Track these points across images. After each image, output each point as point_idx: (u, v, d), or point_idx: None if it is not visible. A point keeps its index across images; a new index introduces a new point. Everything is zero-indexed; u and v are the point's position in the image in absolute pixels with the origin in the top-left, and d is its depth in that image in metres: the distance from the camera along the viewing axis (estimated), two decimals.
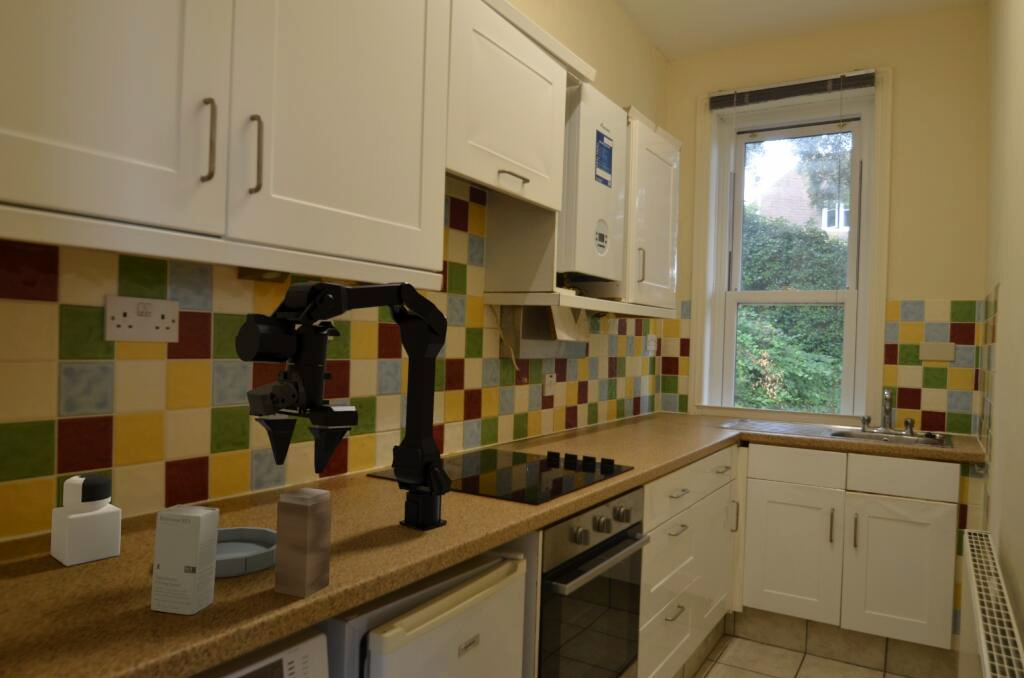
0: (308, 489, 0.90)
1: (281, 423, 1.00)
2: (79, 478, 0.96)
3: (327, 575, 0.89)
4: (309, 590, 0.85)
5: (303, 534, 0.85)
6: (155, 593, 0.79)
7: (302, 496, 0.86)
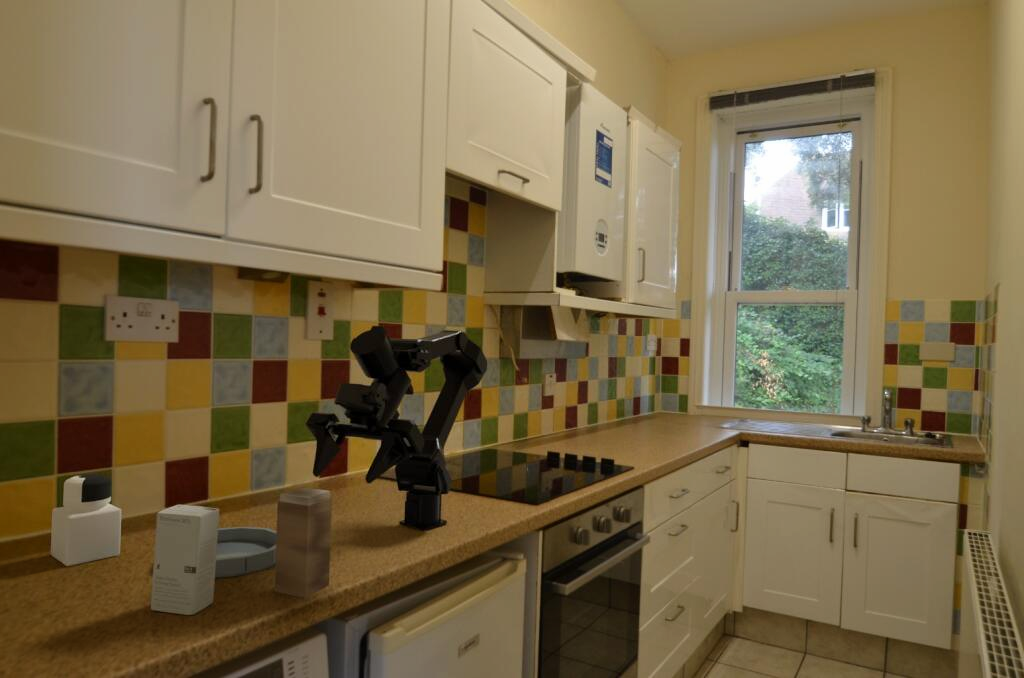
0: (308, 489, 0.90)
1: (331, 441, 1.02)
2: (79, 478, 0.96)
3: (327, 575, 0.89)
4: (309, 590, 0.85)
5: (303, 534, 0.85)
6: (155, 593, 0.79)
7: (302, 496, 0.86)
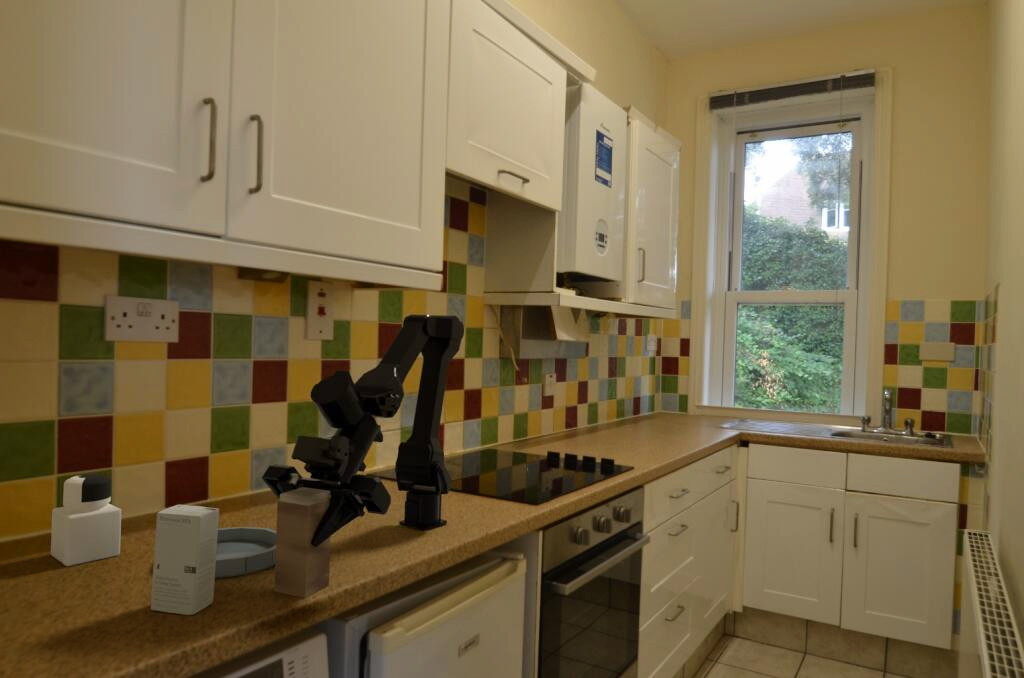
0: (308, 489, 0.90)
1: None
2: (79, 478, 0.96)
3: (327, 575, 0.89)
4: (309, 590, 0.85)
5: (303, 533, 0.85)
6: (155, 593, 0.79)
7: (302, 496, 0.86)
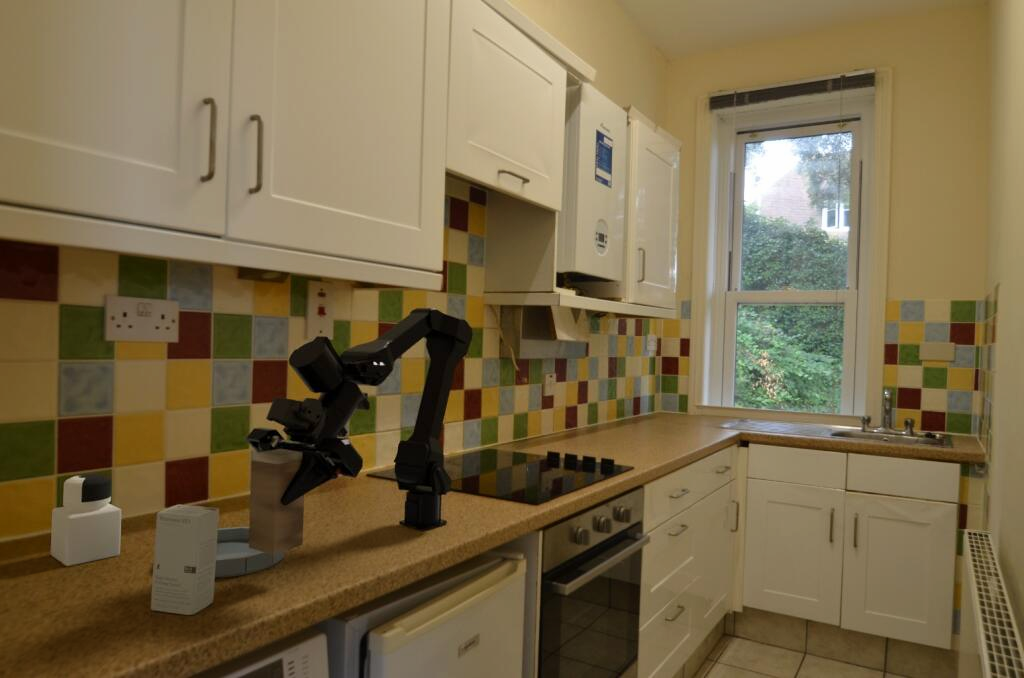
0: (284, 450, 0.92)
1: None
2: (79, 478, 0.96)
3: (300, 535, 0.91)
4: (278, 547, 0.87)
5: (272, 491, 0.87)
6: (155, 593, 0.79)
7: (272, 455, 0.88)
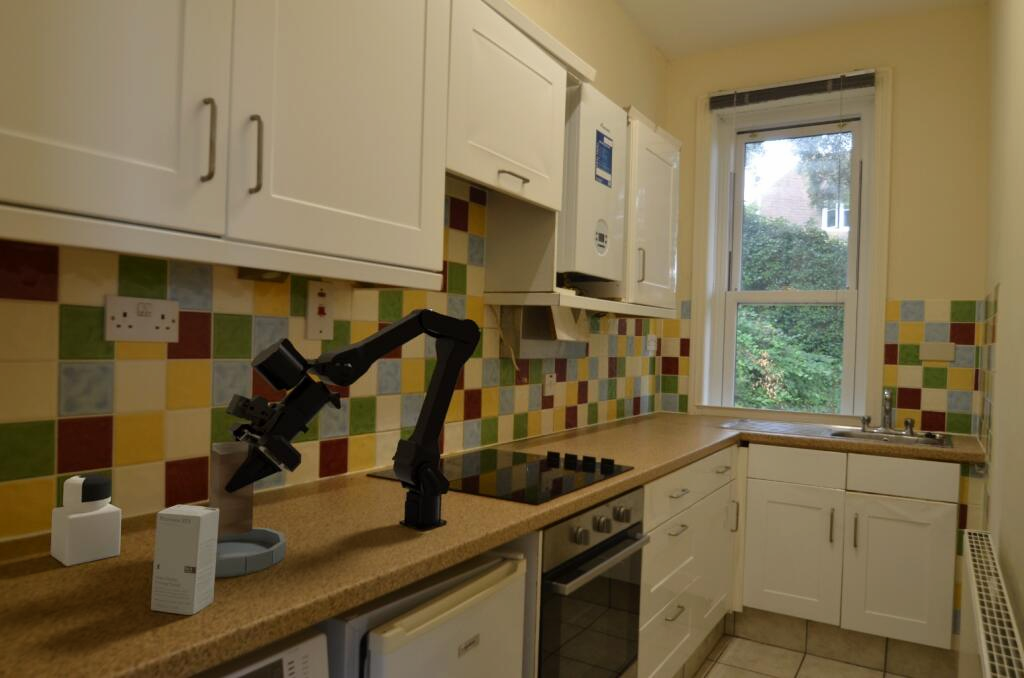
0: (242, 442, 1.00)
1: None
2: (79, 478, 0.96)
3: (249, 522, 0.98)
4: (222, 531, 0.95)
5: (217, 479, 0.96)
6: (155, 593, 0.79)
7: (221, 446, 0.97)
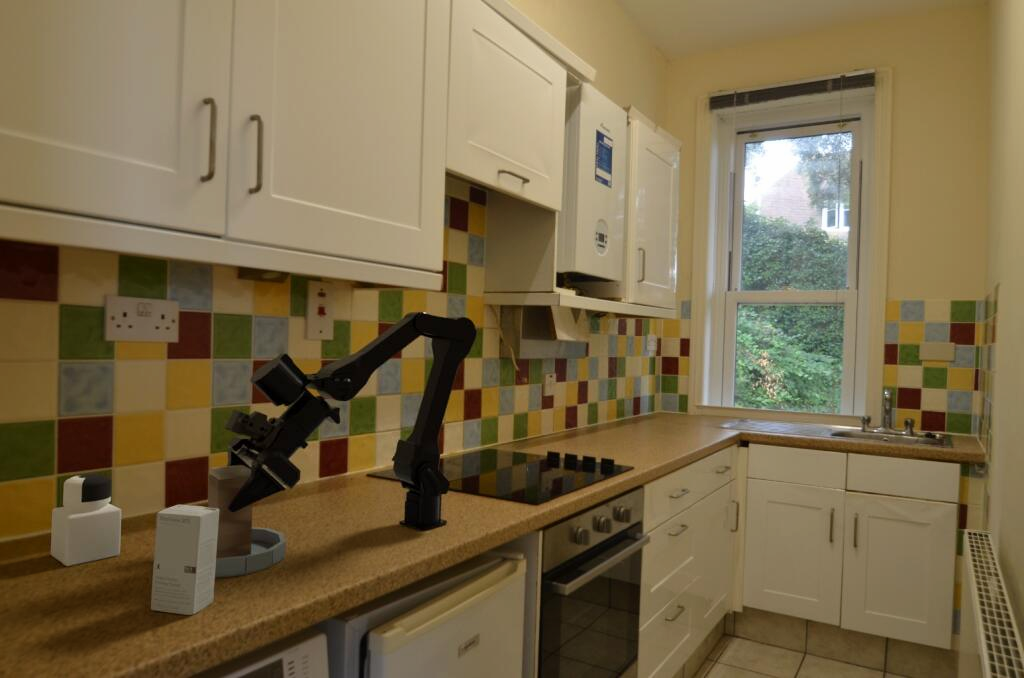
0: (240, 466, 1.00)
1: None
2: (79, 478, 0.96)
3: (248, 546, 0.98)
4: (221, 556, 0.95)
5: (216, 504, 0.96)
6: (155, 593, 0.79)
7: (219, 471, 0.97)
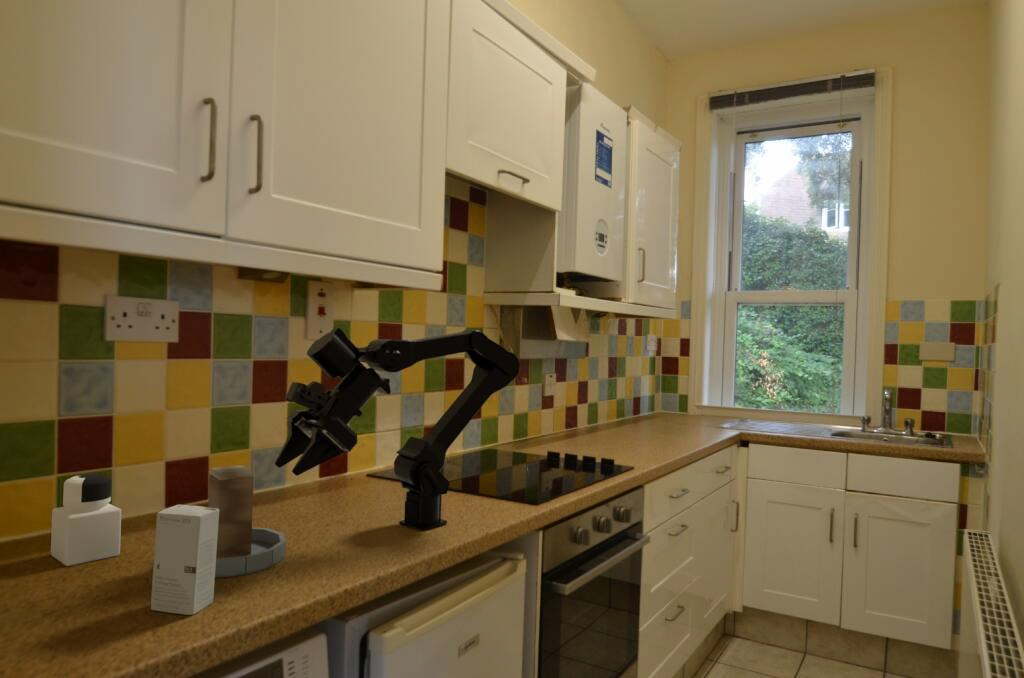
0: (241, 467, 1.00)
1: (302, 436, 1.11)
2: (79, 478, 0.96)
3: (248, 547, 0.98)
4: (221, 556, 0.95)
5: (216, 505, 0.96)
6: (155, 593, 0.79)
7: (220, 471, 0.96)
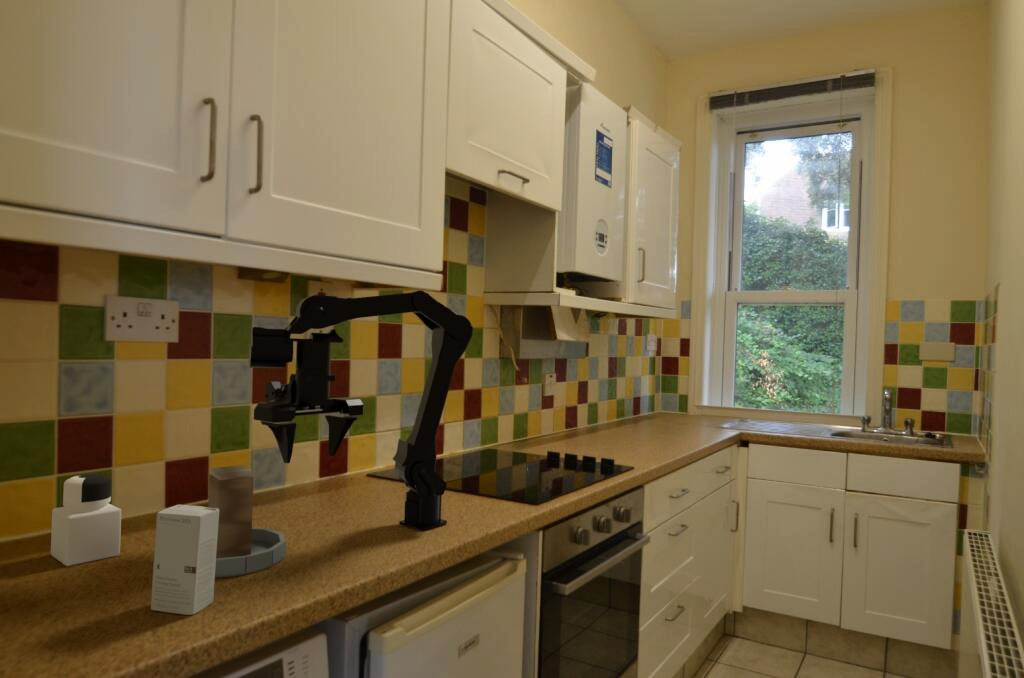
0: (241, 467, 1.00)
1: (335, 420, 1.15)
2: (79, 478, 0.96)
3: (248, 547, 0.98)
4: (221, 556, 0.95)
5: (216, 505, 0.96)
6: (155, 593, 0.79)
7: (220, 471, 0.96)
